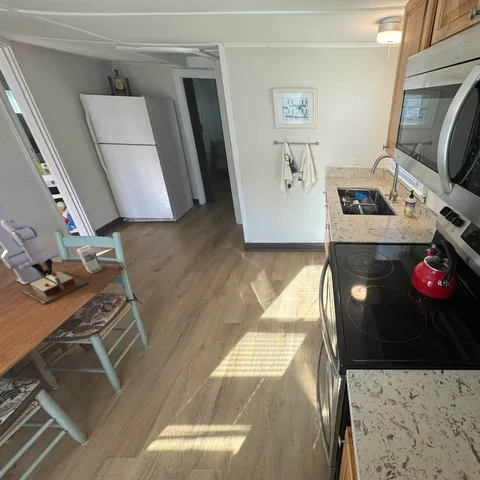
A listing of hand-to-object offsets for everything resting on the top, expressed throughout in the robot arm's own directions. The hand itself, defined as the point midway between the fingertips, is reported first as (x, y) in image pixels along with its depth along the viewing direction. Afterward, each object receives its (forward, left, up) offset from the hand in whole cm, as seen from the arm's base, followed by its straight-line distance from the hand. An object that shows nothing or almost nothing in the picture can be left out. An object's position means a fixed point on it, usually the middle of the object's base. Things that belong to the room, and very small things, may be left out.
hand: (47, 274), depth 134 cm
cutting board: (0, 0, -8) cm, 8 cm away
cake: (0, 0, -7) cm, 7 cm away
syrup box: (+1, +18, -8) cm, 20 cm away
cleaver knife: (0, 0, -4) cm, 4 cm away
